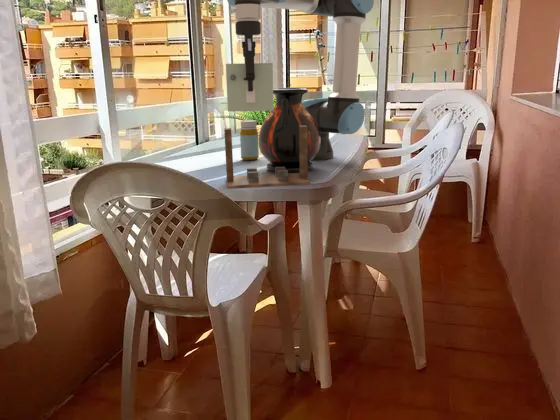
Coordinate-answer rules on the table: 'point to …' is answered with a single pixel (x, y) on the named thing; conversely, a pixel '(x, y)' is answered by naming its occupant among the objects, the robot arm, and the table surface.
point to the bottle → (249, 140)
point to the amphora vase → (288, 131)
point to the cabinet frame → (280, 173)
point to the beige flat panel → (238, 87)
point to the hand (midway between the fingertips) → (250, 101)
